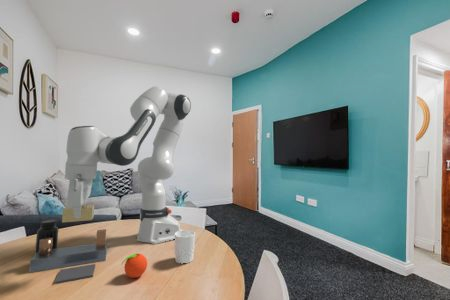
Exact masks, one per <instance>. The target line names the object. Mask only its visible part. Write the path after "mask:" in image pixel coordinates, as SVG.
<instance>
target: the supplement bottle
mask: <svg viewBox="0 0 450 300" xmlns="http://www.w3.org/2000/svg"><path fill="white" fill-rule="evenodd" d="M58 237H59V228H58V226H57V220H56V219H47V220H43V221H41V222H40V227H39V228H38V230H37V232H36V238H35V248H34V249H35V250H34V251H35V254H36V253H37V252H38V251H39V242H40V240H41V239H44V238H53V244H52V249H56V248H58V242H59V241H58V239H59V238H58Z"/></svg>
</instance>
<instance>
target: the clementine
mask: <svg viewBox="0 0 450 300" xmlns="http://www.w3.org/2000/svg"><path fill="white" fill-rule="evenodd" d="M123 264H124V267H123V268H124V272H125V274H126V275H127V276H128V277H129V278H134V279H135V278H139V277H140V276H142V275H143V274H144V273H145V271H146V270H147V267H148V260H147V258H146V256H145V255H143V254H141V253H134V254H132V255H129V256H127V257H126V258H125V259H124V260H123V261H122V263H121V265H123Z"/></svg>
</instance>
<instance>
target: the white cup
mask: <svg viewBox="0 0 450 300" xmlns="http://www.w3.org/2000/svg"><path fill="white" fill-rule="evenodd" d="M195 241H196V232H195V231H194V230H192V229H191V230H190V229H182V230H181V231H177V232H176V233H175V240H174V254H175V255H174V256H175V258H174V259H175V263H177V264H180V263H181V264H180V265H184V264H183V263H187V264H190V263H191V261H192V260H194V253H195V243H196V242H195ZM189 262H190V263H189ZM192 262H193V261H192Z"/></svg>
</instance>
